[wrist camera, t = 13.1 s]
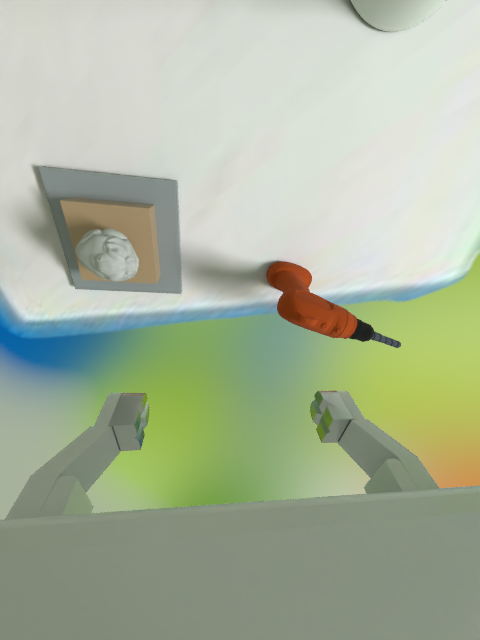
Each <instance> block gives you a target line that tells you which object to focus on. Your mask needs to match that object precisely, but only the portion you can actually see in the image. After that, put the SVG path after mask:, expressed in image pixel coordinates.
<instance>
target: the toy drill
mask: <svg viewBox="0 0 480 640" xmlns="http://www.w3.org/2000/svg"><path fill="white" fill-rule="evenodd" d="M267 280H268V282H269V284H270V285H271V286H273V287H274V288H276V289H278V290H280V291H282V292H283V294H282V296H281V297H280V299H279V301H278V305H277V310H278V313H279V315H280V316H281V317H282V318H284V319H286V320H288V321H289V322H291V323H293V324H295V325H298V326H300V327H303V328H306V329H308V330H311V331H314V332H318V333H320V334H323V335H326V336H329V337H332V338H344V339H346V338H350V339H357V340H360V341H362V342H364V341H369V340H370V339H372V340H375V341H379V342H382V343H385V344H387V345H390V346H393V347H396V348H399V347H400V346H401V343H400V342H399V341H396V340H394V339H391V338H388V337H385V336H383V335H381V334H379V333H376V332H374V330H373V328H372V327H371V325H369V324H367V323H364V322H362V321H361V320H359V319H357V318H356V317H355V316H354V315H352V314H351V313H350V312H348V311H347V310H346V309H344V308H342V307H340V306H338V305H335V304H333V303H331V302H329V301H327V300H325V299H323V298H321V297H319V296H317V295H315V294H313V293H310V291H309V289H308V287H309V286H310V284H311V281H312V276H311V274H310V272H309V271H308V270H306V269H305V268H303V267H301V266H299V265H296V264H293V263H289V262H276V263H274V264H272V265H271V266H270V267H269V269H268V271H267Z"/></svg>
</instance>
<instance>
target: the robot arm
mask: <svg viewBox="0 0 480 640" xmlns="http://www.w3.org/2000/svg"><path fill="white" fill-rule="evenodd" d="M446 1H447V0H351V2H352V4H353V6H354V8H355V9H356V11H357V12H358V13H359V15H360V16H361V17H362V18H363V19H364V20H365V21H366V22H367V23H369V24H370V25H371V26H373V27H375V28H377V29H380V30H383V31H391V32H394V31H402V30H406V29H409V28H411V27H414V26H416V25H418V24H419V23H421V22H423V21H424V20H426V19H427V18H428V17H430V16H431V15H432V14H433V13H435V12H436V11H437V10H438V9H439V8H440V7H441V6H442V5H443V4H444V3H445V2H446ZM146 402H147V394H146V393H110V394H109V395H108V396H107V399H106V401H105V403H104V405H103V408H102V410H101V412H100V414H99V416H98V418H97V421H96V423H95V425H94V427H89V428H88V429H87V430H86V431H84V432H83V433H82V434H81V435H80V436H78V437H77V438H76V439H75V440H74V441H72V442H71V443H70V444H69V445H68V446H66V447H65V448H64V449H63V450H61V451H60V452H59V453H58V454H57V455H56V456H54V457H53V458H52V459H51V460H49V461H48V462H47V463H46V464H45V465H43V466H42V467H41V468H40V469H38V470H37V471H36V472H35V473H34V474H33V475H31V476H30V478H29V480H28V481H27V483H26V485H25V487H24V488H23V490H22V491H21V493H20V495H19V497H18V498H17V500H16V502H15V503H14V505H13V507H12V508H11V510H10V512H9V513H8V515H7V517H6V519H5V520H0V640H480V486H470V487H455V488H441V489H439V487H438V486H437V484H436V483H435V481H434V480H433V479H432V477H431V476H430V474H429V473H428V471H427V470H426V469H425V467H424V466H423V464H422V463H421V461H420V460H419V458H418V457H417V456H416V455H414V454H413V453H412V452H410V451H409V450H408V449H406V448H405V447H404V446H402V445H401V444H400V443H398V442H397V441H396V440H394V439H393V438H392V437H390V436H389V435H388V434H386V433H385V432H384V431H382V430H381V429H380V428H378V427H377V426H376V425H374V424H373V423H371V422H370V421H369V420H367V419H364V417H363V416H362V414H361V412H360V410H359V409H358V407H357V405H356V404H355V402H354V400H353V399H352V397H351V395H350V394H349V392H347V391H318V392H316V394H315V400H314V401H313V402H312V403H311V406H310V412H311V417H312V420H313V422H315V423H316V424H317V425H318V426H317V429H316V430H317V433H318V435H319V438H320V440H321V442H322V443H330V442H331V443H333V442H334V443H337V442H339V443H338V444H339V445H340V446H341V447H342V448H343V449H344V450H345V451H346V452H347V453H348V454H349V455H350V457H351V458H352V459H353V460H354V461H355V462H356V463H357V464H358V465H359V466H360V467H361V468H362V469H363V470H364V471H365V472H366V474H367V475H368V476H369V477H370V478H371V479H370V480H369V481H368V483H367V484H366V485H365V487H364V488H365V491H366V493H367V494H357V495H342V496H328V497H315V498H301V499H287V500H272V501H259V502H244V503H230V504H217V505H202V506H188V507H174V508H160V509H147V510H133V511H118V512H104V513H91V512H92V509H93V505H92V503H91V501H90V500H89V498H88V496H87V495H86V492H87V491H88V490H89V488H90V487H91V486H92V485H93V484H94V482H95V481H96V480H97V479H98V478H99V477H100V475H101V474H102V473H103V472H104V471H105V470H106V468H107V467H108V466H109V465H110V464H111V462H112V461H113V460H114V459H115V458H116V457H117V455H118V454H119V453H120V451H131V450H141V446H142V443H143V439H144V430H143V429H144V428H145V427H146V426H147V423H148V418H149V405H148V404H147V403H146Z"/></svg>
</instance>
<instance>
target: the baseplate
mask: <svg viewBox="0 0 480 640" xmlns="http://www.w3.org/2000/svg"><path fill="white" fill-rule="evenodd" d="M38 168H39V171H40V175H41V178H42V181H43V185H44V188H45V191H46V194H47V198H48V201H49V204H50V207H51V211H52V214H53V217H54V220H55V224H56V227H57V230H58V234H59V237H60V240H61V243H62V247H63V250H64V253H65V256H66V260H67V263H68V266H69V269H70V273H71V276H72V279H73V282H74V286H75V289H89V290H111V291H132V292H154V293H176V294H181V292H182V284H181V258H180V231H179V205H178V181H175V180H165V179H156V178H147V177H137V176H128V175H118V174H109V173H100V172H90V171H81V170H71V169H62V168H53V167H43V166H42V167H38ZM106 228H111V229H114V230H116V231H119V232H121V233H122V234H124V235H125V236H126V237H127V239H128V240H129V241H130V242H131V245H132V247H133V249H134V251H135V253H136V255H137V257H138V259H139V263H138V264H139V267H138V269H137V273H136V274H135V276H134V277H133V278H131V279H128V280H125V281H111V280H108V279H102V278H100V277H98V276H96V275H95V274H94V273H93V272H91V271H90V270H88V269H87V268H86V267H84V266H83V265H82V263H81V262H80V261H79V259H78V257H77V254H76V246H77V244H78V243H79V242H80V240H82V237H83V236H84V235H85V234H86V233H87V232H89V231H91V230H95V229H99V230H102V231H103V230H104V229H106Z"/></svg>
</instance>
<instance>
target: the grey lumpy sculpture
mask: <svg viewBox="0 0 480 640" xmlns="http://www.w3.org/2000/svg"><path fill="white" fill-rule="evenodd" d="M76 254H77V257H78V259H79V261H80V262H81V263H82V265H83V266H84V267H86V268H87V269H88V270H90V271H91V272H93V273H94V274H95V275H96V276H98V277H100V278H102V279H108V280H111V281H125V280H128V279H131V278H133V277H134V276H135V274H136V273H137V269H138V267H139V264H138V263H139V259H138V257H137V255H136V253H135V251H134V249H133V247H132V245H131V242H130V241H129V240H128V239H127V237H126V236H125V235H124V234H122V233H121V232H119V231H116V230H114V229H111V228H106V229H104V230H103V231H102V230H99V229H95V230H91V231H89V232H87V233H86V234H85V235H84V236H83V237H82V240H80V242H79V243H78V244H77V246H76Z"/></svg>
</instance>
